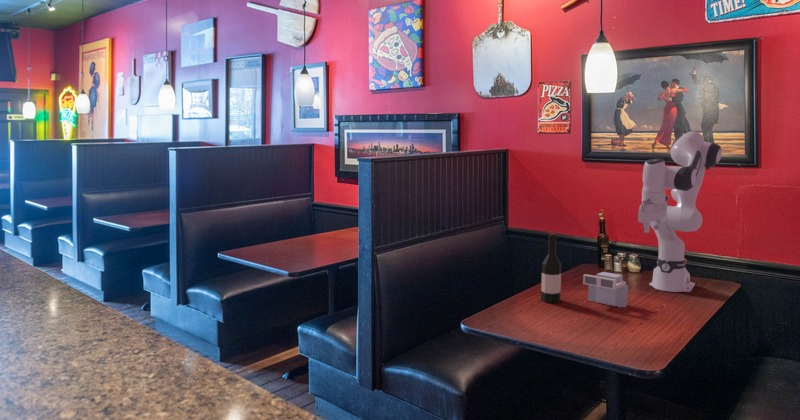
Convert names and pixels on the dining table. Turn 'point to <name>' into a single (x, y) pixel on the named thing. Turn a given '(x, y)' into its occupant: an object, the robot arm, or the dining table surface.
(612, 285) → the white u-shaped bracket
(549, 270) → the wine bottle
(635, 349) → the dining table surface
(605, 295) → the white block with peg
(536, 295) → the dining table surface
